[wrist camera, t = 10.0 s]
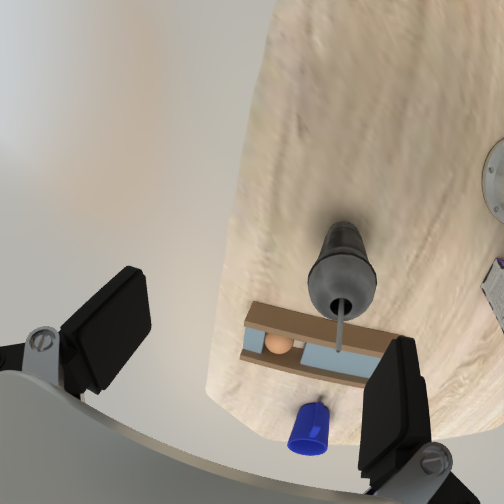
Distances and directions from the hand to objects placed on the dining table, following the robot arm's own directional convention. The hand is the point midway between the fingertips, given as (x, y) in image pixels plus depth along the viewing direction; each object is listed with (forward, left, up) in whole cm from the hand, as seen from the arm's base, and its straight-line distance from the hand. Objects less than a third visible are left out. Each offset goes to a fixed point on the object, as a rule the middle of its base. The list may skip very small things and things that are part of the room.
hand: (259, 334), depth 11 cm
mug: (-11, +48, -31) cm, 58 cm away
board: (-7, +28, -30) cm, 42 cm away
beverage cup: (-5, +9, -31) cm, 32 cm away
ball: (0, +28, -28) cm, 40 cm away
